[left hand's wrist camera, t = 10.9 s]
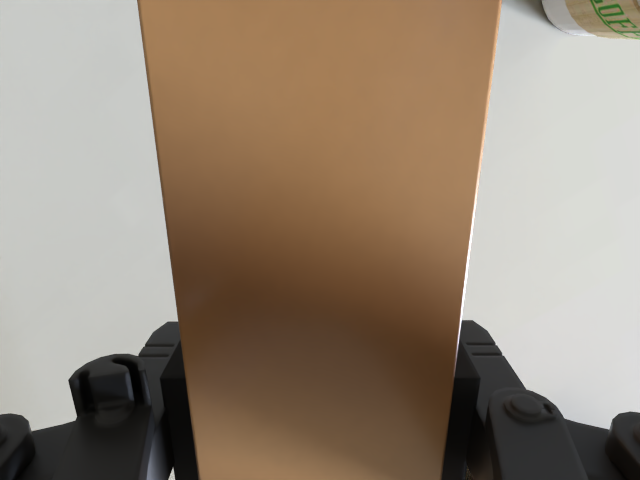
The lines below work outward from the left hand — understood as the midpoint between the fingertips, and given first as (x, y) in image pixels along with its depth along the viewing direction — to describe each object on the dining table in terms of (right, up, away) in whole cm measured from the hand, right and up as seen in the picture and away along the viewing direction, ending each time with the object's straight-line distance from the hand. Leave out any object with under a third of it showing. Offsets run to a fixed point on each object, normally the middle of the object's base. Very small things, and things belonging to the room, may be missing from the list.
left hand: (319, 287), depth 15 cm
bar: (0, -22, +9) cm, 24 cm away
